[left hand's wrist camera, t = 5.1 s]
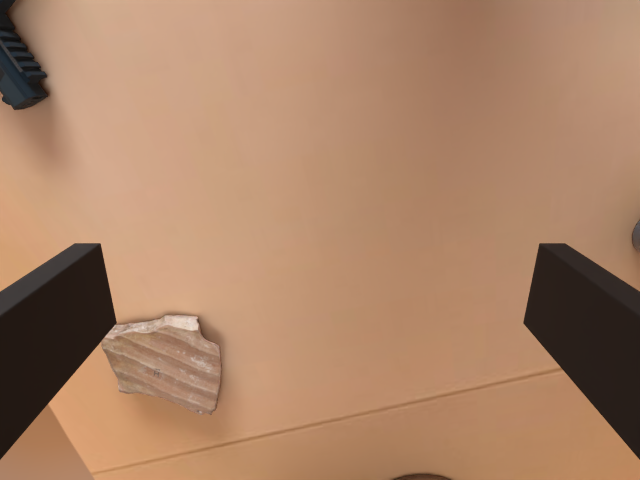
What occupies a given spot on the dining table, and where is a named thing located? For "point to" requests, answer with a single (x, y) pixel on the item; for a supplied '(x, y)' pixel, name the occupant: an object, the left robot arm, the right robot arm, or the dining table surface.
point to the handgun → (17, 67)
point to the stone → (166, 361)
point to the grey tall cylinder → (636, 237)
